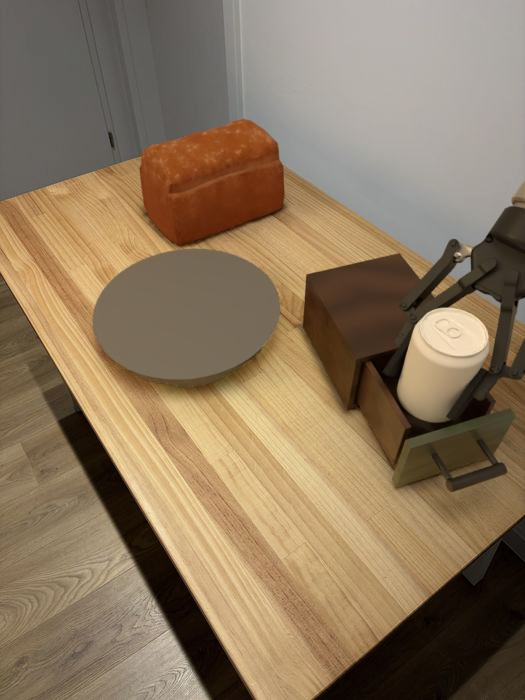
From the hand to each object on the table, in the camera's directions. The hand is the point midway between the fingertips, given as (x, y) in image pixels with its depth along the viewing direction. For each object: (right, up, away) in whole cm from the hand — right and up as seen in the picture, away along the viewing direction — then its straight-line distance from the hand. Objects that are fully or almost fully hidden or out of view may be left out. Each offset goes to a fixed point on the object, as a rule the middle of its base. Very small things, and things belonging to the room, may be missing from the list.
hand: (419, 395), depth 63 cm
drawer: (+3, -6, +8) cm, 11 cm away
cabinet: (-2, +5, +19) cm, 20 cm away
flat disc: (-29, +9, +23) cm, 38 cm away
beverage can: (+2, -1, +4) cm, 5 cm away
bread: (-27, +33, +44) cm, 62 cm away
